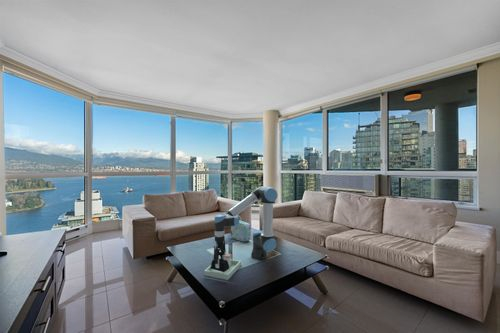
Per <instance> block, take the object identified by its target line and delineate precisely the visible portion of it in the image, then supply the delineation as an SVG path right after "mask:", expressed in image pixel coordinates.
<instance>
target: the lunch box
mask: <svg viewBox="0 0 500 333" xmlns="http://www.w3.org/2000/svg"><path fill="white" fill-rule="evenodd" d="M251 230H252V229H251V224H250V223H249V222H246V221H242V220H240V219H239V225H236V226H230V235H231V238H232V239H234V240H235V241H240V242H244V243H245V242H248V241H251V236H252V234H251V233H252V232H251Z"/></svg>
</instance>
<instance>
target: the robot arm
mask: <svg viewBox="0 0 500 333" xmlns="http://www.w3.org/2000/svg"><path fill="white" fill-rule="evenodd" d="M277 199H278V191H277V190H276V189H275V188H274V187H271V186H264V185H263V186H259V187H257V188H255V189H254V190H253V191H251V192H250V194H249V195H248V196H246V197H245V198H243V199H242V200H241V201H239V202H238V203H237V204H235V205H234V206H233V207H231V208H230V209H229V210H227V211H226V212H222V213H221V214H217V215H215V216H214V222H213V223H214V241H215V245H214V246H213V260H215V262H216V268H219V258H220V255H219V252H222V249H223V250H224V254H223V255H222V259H223V260H224V255H225V254H227V253H226V240H225V238H226V237H225V235H226V233H225V228H228V227H230V228H231V226H236V225H239V220H240V218H239V216H238V215H239V214H240V213H242V212H243V211H244V210H246V209H247V208H248V207H249V206H251V205H253V204H254V203H255V202H259V201H260V200H261V204H262V230H255V231H253V232H252V251H251V253H250V257H251V258H252V259H253V260H258V261H263V260H266V259H267V258H268V257H269V254H268V253H270V252H273V251H275V249H276V247H277V241H276V239H275V233H274V232H273V223H274V222H273V221H274V216H273V215H274V204H275V203H276V201H277Z"/></svg>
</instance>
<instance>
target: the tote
mask: <svg viewBox="0 0 500 333" xmlns="http://www.w3.org/2000/svg"><path fill="white" fill-rule="evenodd" d="M219 259H221V257H219ZM241 266H242V260H237V259H232V258H231V267H229V269H228V270H227V271H225V272H221V271H217V270H214V269H211V268H210V267H211V264H210V265H209V266H208V267H207V268H205V269H204V271H203V272H204V273H203V274H204V277H206V278H208V277H209V278H211V279H214V280H215V279H216V280H217V279H218V280H219V281H222V280H223V281H224V282H227V281H229V280H230V278H232V276H233V275H234V274H235V273H236V272H237V271H238V270H239V269H240V267H241Z"/></svg>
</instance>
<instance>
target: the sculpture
mask: <svg viewBox="0 0 500 333" xmlns="http://www.w3.org/2000/svg"><path fill="white" fill-rule="evenodd" d="M223 254H224V250H223V249H222V252H221V251H220V252H219V258H221V259H219V268H216V262H215V260H214V259H212V260H211V262H210V265H211V267H210V268H211V269H214V270H217V271H221V272H225V271H227V270H228V269H229V264H228V261H227V260H223V259H222V255H223Z"/></svg>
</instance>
